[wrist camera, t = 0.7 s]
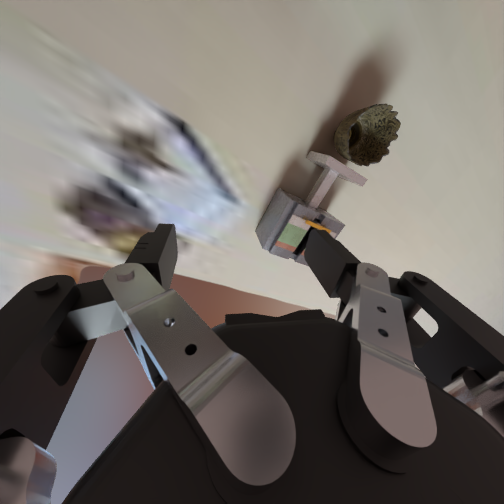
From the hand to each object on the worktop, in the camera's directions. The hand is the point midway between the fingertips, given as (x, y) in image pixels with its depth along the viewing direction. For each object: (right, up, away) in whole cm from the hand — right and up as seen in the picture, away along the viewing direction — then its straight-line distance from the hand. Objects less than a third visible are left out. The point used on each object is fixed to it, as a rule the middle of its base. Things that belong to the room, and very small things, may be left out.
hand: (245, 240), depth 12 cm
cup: (+16, +19, +22) cm, 33 cm away
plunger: (+12, +12, +25) cm, 30 cm away
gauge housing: (+8, +6, +29) cm, 31 cm away
